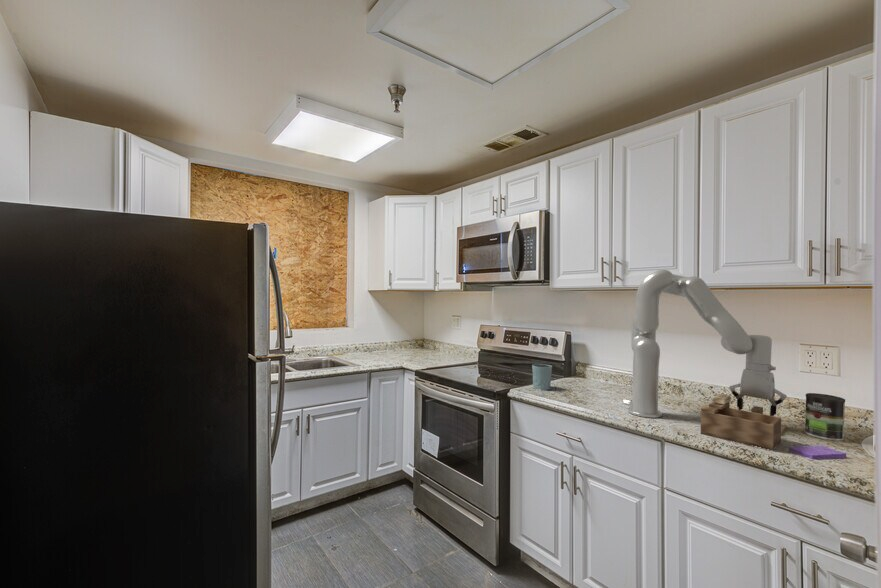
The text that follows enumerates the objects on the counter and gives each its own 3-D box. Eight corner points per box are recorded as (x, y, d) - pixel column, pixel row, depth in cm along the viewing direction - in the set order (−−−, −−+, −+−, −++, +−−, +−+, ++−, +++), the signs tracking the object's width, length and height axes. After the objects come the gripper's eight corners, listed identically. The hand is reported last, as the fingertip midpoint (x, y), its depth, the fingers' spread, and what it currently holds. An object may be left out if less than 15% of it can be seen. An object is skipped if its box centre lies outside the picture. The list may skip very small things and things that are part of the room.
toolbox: (700, 433, 143) (701, 408, 143) (716, 423, 156) (717, 399, 156) (772, 450, 128) (773, 422, 128) (783, 437, 141) (784, 411, 141)
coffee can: (835, 442, 137) (836, 401, 137) (798, 433, 146) (799, 394, 146) (850, 439, 141) (851, 398, 141) (813, 429, 151) (814, 392, 151)
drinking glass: (530, 389, 206) (531, 366, 206) (532, 385, 216) (532, 363, 216) (551, 391, 203) (552, 367, 203) (552, 387, 213) (552, 364, 213)
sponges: (846, 459, 124) (846, 453, 124) (811, 460, 122) (811, 454, 122) (822, 450, 131) (822, 444, 131) (788, 451, 129) (788, 445, 129)
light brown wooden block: (713, 402, 151) (713, 397, 151) (719, 399, 156) (719, 394, 156) (724, 404, 148) (724, 399, 148) (730, 401, 153) (730, 395, 153)
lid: (716, 422, 157) (717, 404, 157) (726, 415, 166) (727, 398, 166) (779, 436, 143) (780, 416, 143) (786, 428, 152) (787, 409, 152)
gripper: (789, 370, 149) (787, 416, 150) (733, 363, 162) (731, 405, 163) (785, 372, 145) (783, 420, 145) (728, 364, 157) (726, 408, 158)
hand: (755, 412), depth 154 cm, fingers open, 9 cm apart
